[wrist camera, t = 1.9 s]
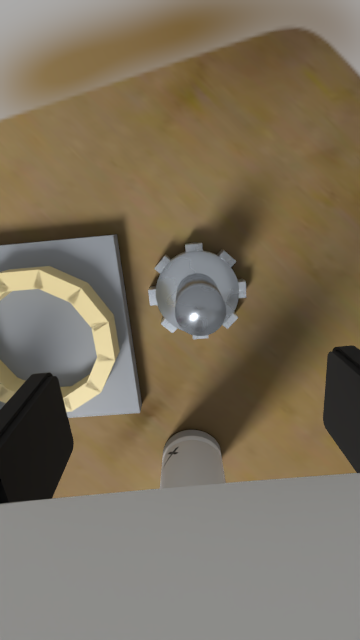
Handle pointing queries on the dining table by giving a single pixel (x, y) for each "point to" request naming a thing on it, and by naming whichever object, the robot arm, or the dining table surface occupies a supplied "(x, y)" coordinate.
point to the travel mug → (191, 460)
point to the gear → (197, 291)
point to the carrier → (68, 323)
